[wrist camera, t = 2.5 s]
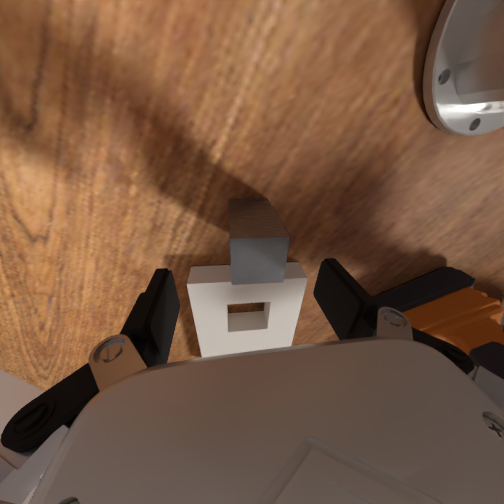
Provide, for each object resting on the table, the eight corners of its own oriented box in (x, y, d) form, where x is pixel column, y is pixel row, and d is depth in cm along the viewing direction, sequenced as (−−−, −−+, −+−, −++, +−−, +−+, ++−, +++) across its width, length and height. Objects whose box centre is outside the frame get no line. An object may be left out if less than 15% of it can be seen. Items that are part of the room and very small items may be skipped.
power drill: (331, 339, 34) (500, 673, 13) (319, 318, 30) (529, 743, 9) (459, 287, 30) (997, 649, 9) (463, 255, 26) (1412, 755, 5)
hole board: (191, 266, 22) (186, 284, 19) (299, 261, 23) (307, 277, 21) (207, 358, 33) (206, 377, 30) (280, 351, 34) (285, 369, 32)
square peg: (228, 198, 18) (229, 238, 11) (267, 198, 19) (290, 236, 12) (229, 233, 20) (231, 285, 13) (264, 233, 21) (283, 282, 14)
